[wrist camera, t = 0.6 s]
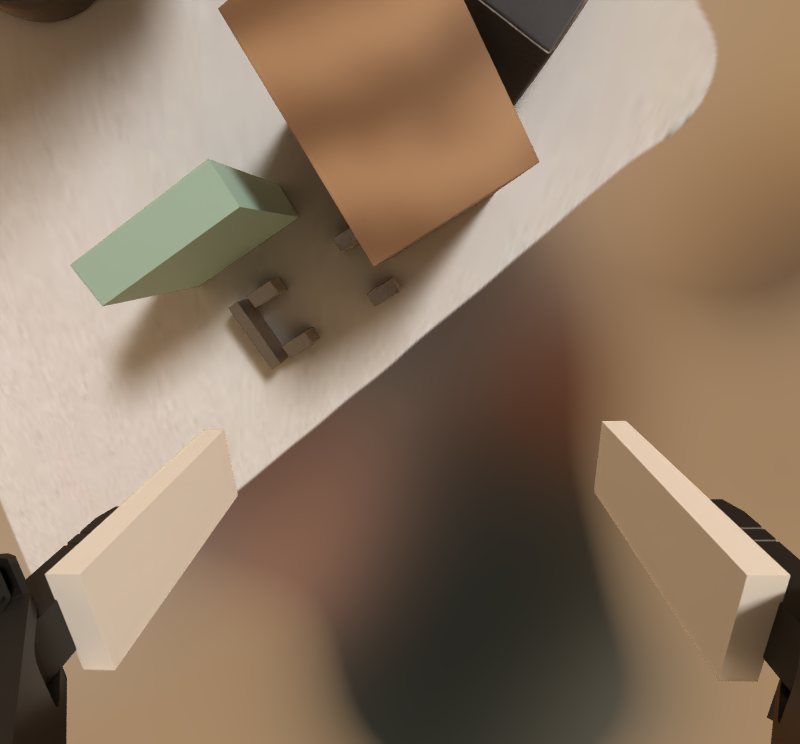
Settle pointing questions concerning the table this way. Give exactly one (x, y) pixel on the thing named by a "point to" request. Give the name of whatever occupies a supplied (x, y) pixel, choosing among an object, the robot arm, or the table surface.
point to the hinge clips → (273, 288)
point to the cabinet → (387, 108)
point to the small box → (522, 35)
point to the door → (185, 235)
